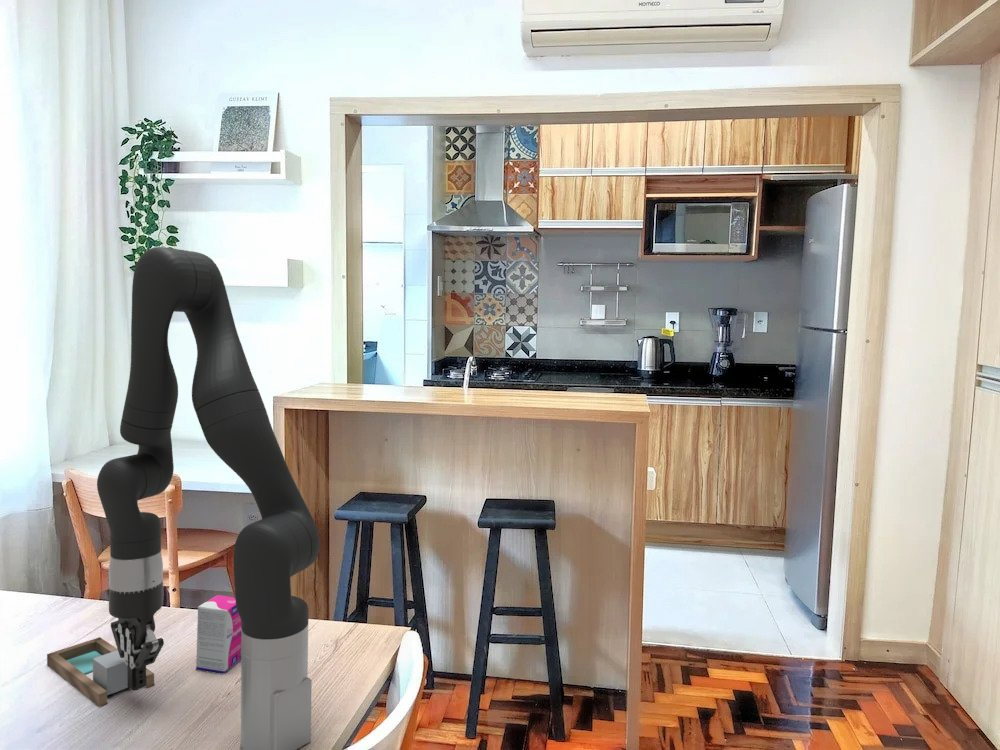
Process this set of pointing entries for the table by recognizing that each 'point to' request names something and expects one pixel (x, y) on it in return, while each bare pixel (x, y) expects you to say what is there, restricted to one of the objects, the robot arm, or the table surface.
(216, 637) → the supplement box
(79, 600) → the table surface
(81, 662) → the wooden u-shaped frame
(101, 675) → the block
